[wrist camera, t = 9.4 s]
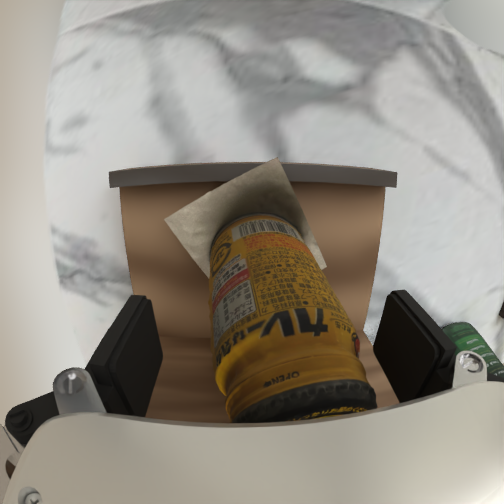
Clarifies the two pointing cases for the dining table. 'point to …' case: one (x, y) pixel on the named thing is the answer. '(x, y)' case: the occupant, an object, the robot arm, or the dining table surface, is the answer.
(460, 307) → the dining table surface
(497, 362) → the coffee jar
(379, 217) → the rack
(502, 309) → the hardcover book
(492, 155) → the dining table surface
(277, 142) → the dining table surface
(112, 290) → the dining table surface
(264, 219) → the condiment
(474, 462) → the robot arm
